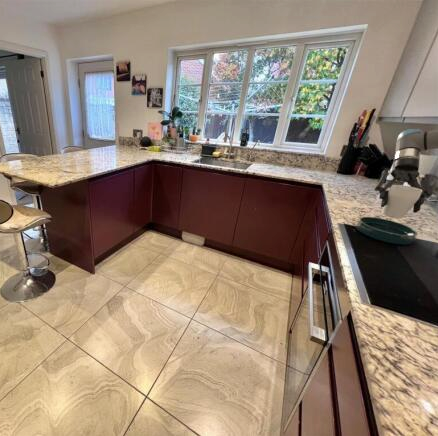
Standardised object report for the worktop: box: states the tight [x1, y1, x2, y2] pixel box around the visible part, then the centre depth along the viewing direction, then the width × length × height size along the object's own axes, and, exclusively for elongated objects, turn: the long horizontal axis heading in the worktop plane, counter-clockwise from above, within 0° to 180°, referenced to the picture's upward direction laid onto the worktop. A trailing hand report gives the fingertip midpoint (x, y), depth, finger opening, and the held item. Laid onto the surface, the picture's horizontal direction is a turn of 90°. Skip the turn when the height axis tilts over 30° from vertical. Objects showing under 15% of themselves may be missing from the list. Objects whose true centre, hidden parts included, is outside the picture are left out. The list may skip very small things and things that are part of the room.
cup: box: [381, 184, 422, 219], centre depth 95 cm, size 9×9×12 cm
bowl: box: [355, 216, 418, 246], centre depth 100 cm, size 18×18×4 cm
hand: (399, 208), depth 93 cm, fingers closed on cup, 9 cm apart
